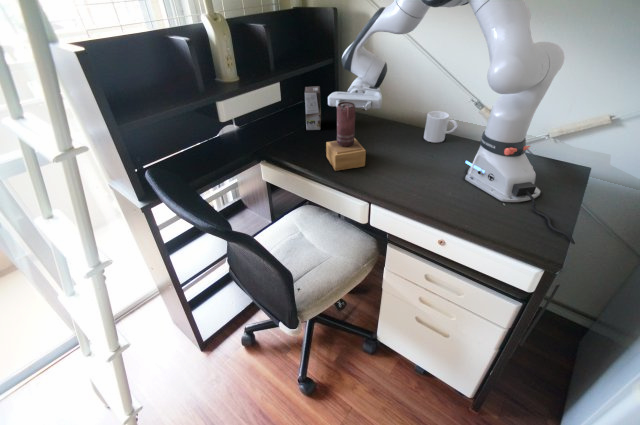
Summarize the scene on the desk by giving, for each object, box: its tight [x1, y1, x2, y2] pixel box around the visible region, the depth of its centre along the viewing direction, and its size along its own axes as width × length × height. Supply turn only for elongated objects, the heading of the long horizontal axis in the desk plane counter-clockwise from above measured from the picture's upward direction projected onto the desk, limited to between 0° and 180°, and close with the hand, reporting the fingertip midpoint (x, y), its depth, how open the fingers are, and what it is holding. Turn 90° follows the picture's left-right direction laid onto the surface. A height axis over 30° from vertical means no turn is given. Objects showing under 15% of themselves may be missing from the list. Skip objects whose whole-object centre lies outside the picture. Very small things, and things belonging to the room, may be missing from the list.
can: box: [336, 102, 356, 147], centre depth 111 cm, size 6×6×14 cm
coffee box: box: [304, 85, 322, 131], centre depth 141 cm, size 9×6×16 cm
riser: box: [325, 137, 367, 172], centre depth 117 cm, size 11×11×6 cm
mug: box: [423, 110, 459, 143], centre depth 128 cm, size 8×12×10 cm
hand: (351, 107), depth 117 cm, fingers open, 8 cm apart
